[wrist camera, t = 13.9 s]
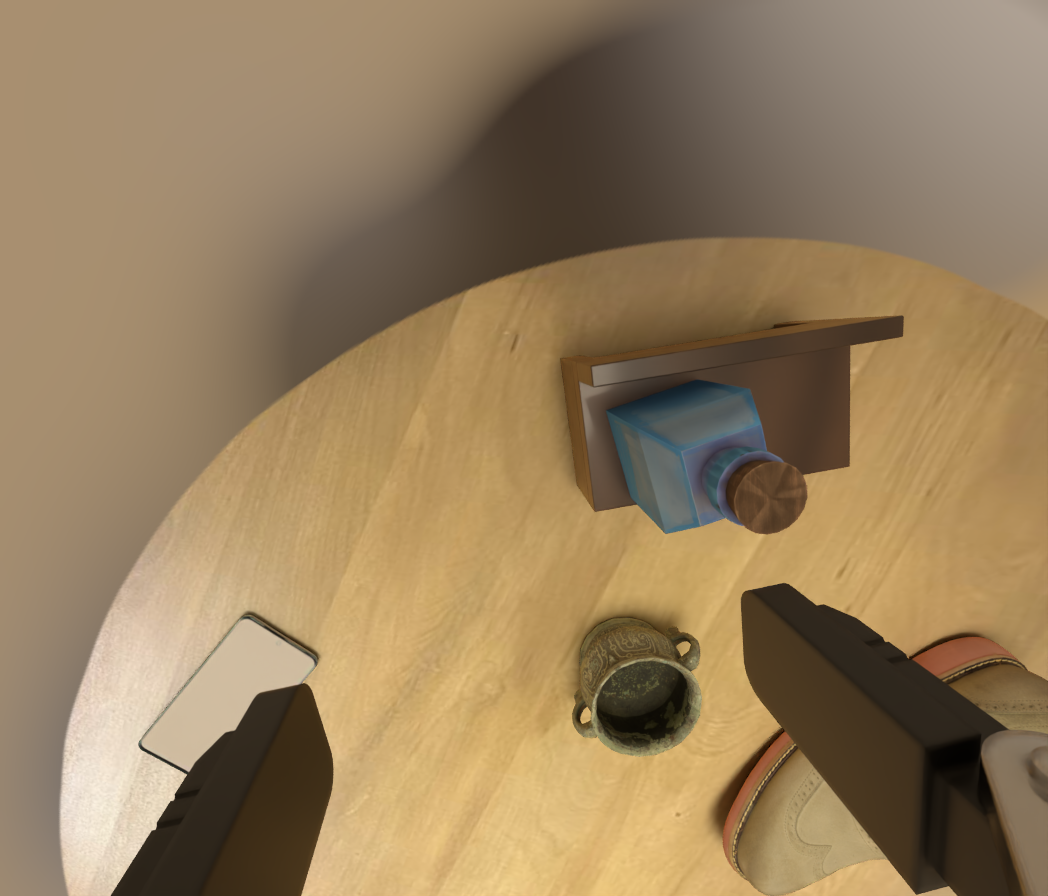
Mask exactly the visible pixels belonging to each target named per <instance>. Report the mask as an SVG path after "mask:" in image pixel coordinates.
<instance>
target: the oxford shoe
mask: <svg viewBox="0 0 1048 896" xmlns="http://www.w3.org/2000/svg"><path fill="white" fill-rule="evenodd" d="M913 660H914V661H916V662H917V663H919V664H920V665H921V666H923V667H924V668H925V669H927V670H928V671H930V672H931V673H932V674H934V675H935V676H936V677H938V678H939V679H941V680H942V681H943V682H945V683H946V684H947V685H949V686H950V687H951V688H953V689H954V690H956V691H957V692H958V693H960V694H961V695H962V696H964V697H965V698H967V699H968V700H969V701H971V702H972V703H973V704H975V705H976V706H978V707H979V708H980V709H982V710H983V711H984V712H986V713H987V714H989V715H990V716H991V717H993V718H994V719H995V720H997V721H998V722H1000V723H1001V724H1002V725H1004V726H1005V727H1006V728H1008V729H1009V730H1030V731H1036V732H1042V733H1046V734H1048V681H1047V680H1045V679H1044V678H1042V677H1040V676H1038V675H1036V674H1034V673H1032V672H1030V671H1028V670H1027V668H1026V667H1025V666H1024V665H1023V664H1022V663H1021V662H1019V661H1018V660H1017V659H1016V658H1015V657H1014V656H1013V655H1012V654H1011V653H1009V652H1008V651H1007V650H1006V649H1004V648H1003V647H1001V646H1000V645H998V644H997V643H995V642H993V641H991V640H988V639H985V638H981V637H965V638H960V639H955V640H951V641H948V642H945V643H943V644H941V645H938V646H936V647H934V648H932V649H929V650H927V651H926V652H924V653H922V654H920V655H918V656H916V657H915V658H913ZM723 848H724V852H725V855H726V858H727V860H728V862H729V863H730V865H731V866H732V868H733V869H734V870H735V871H736V872H737V873H738V874H739V875H740V876H741V877H742V878H744V879H746V880H748V881H749V882H750V883H751V884H752V885H753V886H754V888H756V889H757V890H758V891H759V892H761V893H763V894H765V895H768V896H781V895H786V894H789V893H792V892H795V891H797V890H800V889H802V888H804V887H806V886H808V885H810V884H812V883H814V882H817V881H819V880H821V879H823V878H825V877H827V876H829V875H831V874H832V873H834V872H836V871H837V870H839V869H842V868H844V867H847V866H850V865H854V864H858V863H861V862H865V861H869V860H880V859H885V860H888V859H887V858H886V856H885V855H884V854H883V853H882V851H881V850H880V849H879V848H878V846H877V845H876V844H875V843H874V841H873V840H872V839H871V838H870V836H869V835H868V834H867V833H866V831H865V830H864V829H863V828H862V826H861V825H860V824H859V823H858V821H857V820H856V819H855V818H854V816H853V815H852V814H851V813H850V811H849V810H848V809H847V808H846V806H845V805H844V804H843V803H842V801H841V800H840V799H839V798H838V797H837V795H836V794H835V793H834V792H833V790H832V789H831V788H830V787H829V785H828V784H827V783H826V782H825V780H824V779H823V778H822V777H821V775H820V774H819V773H818V772H817V770H816V769H815V768H814V767H813V765H812V764H811V763H810V762H809V760H808V759H807V758H806V757H805V755H804V754H803V753H802V752H801V750H800V749H799V748H798V747H797V745H796V744H795V743H794V742H793V740H792V739H791V738H790V737H789V735H788V734H787V733H786V732H783V733H782V734H781V735H780V737H779V738H778V739H777V740H776V741H775V742H774V743H773V744H772V745H771V746H770V747H769V748H768V750H767V751H766V752H765V754H764V755H763V756H762V758H761V759H760V760H759V762H758V763H757V764H756V766H755V767H754V769H753V770H752V771H751V773H750V774H749V776H748V778H747V779H746V781H745V783H744V785H743V786H742V788H741V790H740V792H739V794H738V796H737V798H736V799H735V801H734V803H733V805H732V807H731V809H730V812H729V814H728V817H727V819H726V822H725V826H724V831H723Z"/></svg>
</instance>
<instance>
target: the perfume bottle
mask: <svg viewBox="0 0 1048 896" xmlns="http://www.w3.org/2000/svg"><path fill="white" fill-rule="evenodd" d="M606 413H607V416H608V420H609V423H610V427H611V430H612V434H613V437H614V441H615V444H616V448H617V451H618V455H619V458H620V462H621V465H622V469H623V472H624V475H625V479H626V482H627V486H628V489H629V493H630V496H631V498H632V499H633V500H634V501H635V502H636V503H637V505H638V506H639V507H640V508H641V509H642V510H643V511H644V512H645V513H646V514H647V515H648V516H649V517H650V518H651V519H652V520H653V521H654V522H655V523H656V524H657V525H658V526H659V527H660V528H661V530H662V531H663V532H664V533H665V534H667V533H672V532H677V531H682V530H687V529H691V528H696V527H701V526H704V525H707V524H709V523H712V522H715V521H718V520H721V519H724V518H727V519H728V520H730V521H732V522H734V523H736V524H738V525H741V526H745V527H746V528H747V529H749V530H751V531H753V532H755V533H759V534H772V533H777V532H780V531H782V530H784V529H786V528H787V527H789V526H790V525H791V524H792V523H794V522H795V521H796V520H797V519H798V517H799V516H800V514H801V513H802V511H803V509H804V507H805V504H806V500H807V485H806V482H805V479H804V477H803V475H802V474H801V473H800V472H799V470H798V469H797V468H796V467H794V466H792V465H790V464H788V463H784V461H783V460H782V459H781V458H780V457H778V456H776V455H774V454H772V453H770V452H767V449H766V444H765V439H764V434H763V430H762V425H761V421H760V418H759V415H758V412H757V409H756V406H755V403H754V400H753V397H752V394H751V391H750V389H747V388H742V387H736V386H731V385H725V384H720V383H714V382H709V381H704V380H698V379H697V380H694V381H691V382H688V383H685V384H682V385H679V386H676V387H673V388H670V389H667V390H664V391H662V392H659V393H656V394H653V395H650V396H647V397H644V398H641V399H638V400H635V401H632V402H629V403H626V404H623V405H620V406H618V407H615V408H612V409H609V410H606Z"/></svg>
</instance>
